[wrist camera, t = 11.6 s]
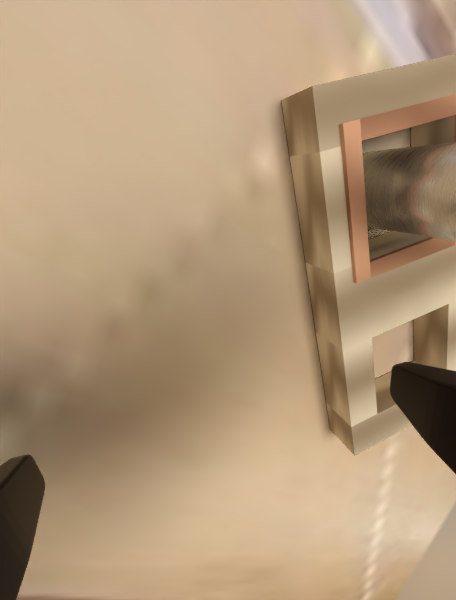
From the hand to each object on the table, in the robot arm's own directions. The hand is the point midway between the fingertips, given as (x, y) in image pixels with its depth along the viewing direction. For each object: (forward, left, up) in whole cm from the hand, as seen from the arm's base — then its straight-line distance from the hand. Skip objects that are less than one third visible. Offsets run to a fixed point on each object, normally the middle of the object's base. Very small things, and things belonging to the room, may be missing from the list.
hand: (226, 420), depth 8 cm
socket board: (+10, -12, -12) cm, 20 cm away
